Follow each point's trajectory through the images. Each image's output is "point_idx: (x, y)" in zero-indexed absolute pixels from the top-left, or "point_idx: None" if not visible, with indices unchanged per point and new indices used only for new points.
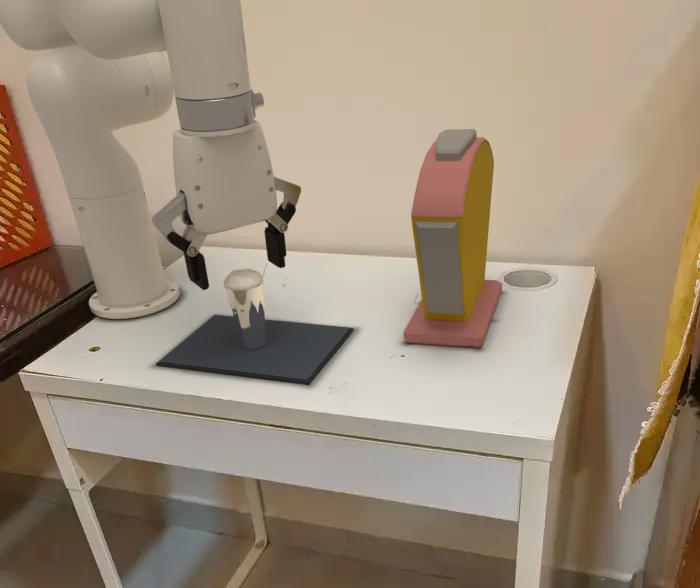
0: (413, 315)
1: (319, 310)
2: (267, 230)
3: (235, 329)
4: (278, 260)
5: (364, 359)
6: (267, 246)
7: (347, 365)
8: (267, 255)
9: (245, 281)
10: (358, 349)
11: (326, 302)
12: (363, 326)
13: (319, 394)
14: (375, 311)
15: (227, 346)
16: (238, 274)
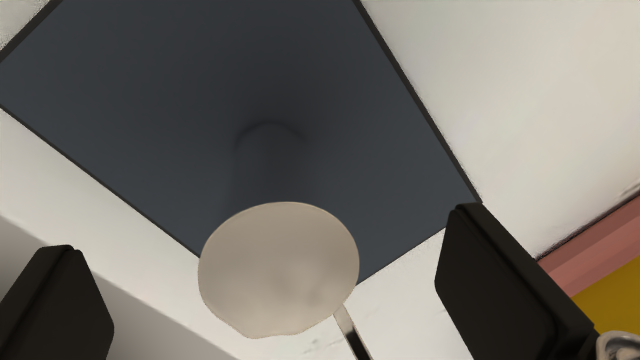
0: (571, 263)
1: (514, 49)
2: (547, 349)
3: (261, 30)
4: (447, 306)
5: (411, 297)
6: (486, 265)
7: (378, 300)
8: (462, 222)
9: (268, 336)
10: (429, 265)
11: (564, 11)
12: (505, 194)
13: (290, 348)
14: (578, 147)
15: (202, 124)
16: (262, 307)
